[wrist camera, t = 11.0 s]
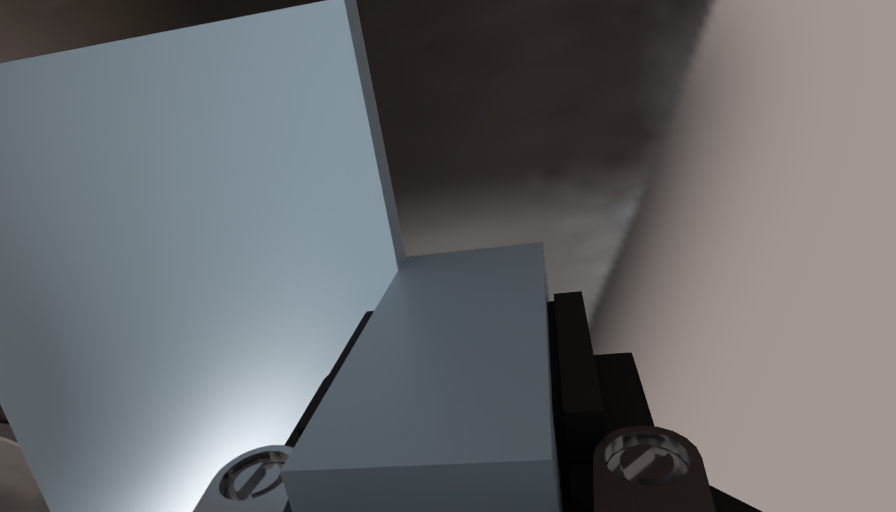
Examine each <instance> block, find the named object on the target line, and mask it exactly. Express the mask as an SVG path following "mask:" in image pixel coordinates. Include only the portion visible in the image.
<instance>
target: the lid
mask: <svg viewBox="0 0 896 512" xmlns="http://www.w3.org/2000/svg"><path fill="white" fill-rule="evenodd" d="M547 302H550V300H549V292H548V283H547V274H546V265H545V257H544V248H543V242H540V243H530V244H521V245H512V246H503V247H494V248H484V249H475V250H466V251H457V252H448V253H438V254H429V255H420V256H411V257H406V255H405V250H404V245H403V239H402V234H401V229H400V224H399V219H398V214H397V209H396V203H395V198H394V193H393V188H392V183H391V178H390V173H389V167H388V162H387V157H386V152H385V147H384V142H383V137H382V131H381V126H380V121H379V116H378V111H377V106H376V101H375V95H374V90H373V85H372V80H371V75H370V70H369V65H368V59H367V54H366V49H365V44H364V39H363V34H362V29H361V23H360V18H359V13H358V8H357V3H356V0H325V1H320V2H315V3H310V4H305V5H300V6H295V7H289V8H284V9H279V10H274V11H269V12H264V13H258V14H253V15H248V16H243V17H238V18H233V19H227V20H222V21H217V22H212V23H207V24H202V25H197V26H191V27H186V28H181V29H176V30H171V31H166V32H160V33H155V34H150V35H145V36H140V37H135V38H129V39H124V40H119V41H114V42H109V43H104V44H99V45H93V46H88V47H83V48H78V49H73V50H68V51H62V52H57V53H52V54H47V55H42V56H37V57H31V58H26V59H21V60H16V61H11V62H6V63H0V405H1V407H2V409H3V411H4V413H5V415H6V418H7V420H8V422H9V424H10V426H11V428H12V430H13V433H14V435H15V437H16V439H17V441H18V443H19V446H20V448H21V450H22V452H23V454H24V456H25V458H26V461H27V463H28V465H29V467H30V469H31V471H32V473H33V476H34V478H35V480H36V482H37V484H38V486H39V489H40V491H41V493H42V495H43V497H44V499H45V501H46V504H47V506H48V508H49V510H50V512H193V510H194V508H195V507H196V505H197V503H198V502H199V500H200V499H201V497H202V495H203V494H204V492H205V490H206V489H207V487H208V485H209V484H210V482H211V481H212V479H213V478H214V476H215V475H216V474H217V473H218V471H219V470H220V469H221V468H222V467H224V466H225V465H226V464H227V463H228V462H230V461H231V460H233V459H234V458H236V457H238V456H240V455H241V454H243V453H245V452H248V451H251V450H253V449H256V448H259V447H264V446H269V445H285V443H286V442H287V440H288V438H289V437H290V435H291V433H292V432H293V430H294V428H295V427H296V425H297V423H298V422H299V420H300V418H301V417H302V415H303V413H304V412H305V410H306V408H307V407H308V405H309V403H310V402H311V400H312V398H313V397H314V395H315V393H316V392H317V390H318V388H319V386H320V385H321V383H322V381H323V380H324V379H325V377H326V376H327V375H329V373H330V372H331V370H332V368H333V367H334V365H335V363H336V362H337V360H338V358H339V356H340V355H341V353H342V351H343V350H344V348H345V346H346V345H347V343H348V341H349V340H350V338H351V336H352V335H353V333H354V331H355V330H356V328H357V326H358V324H359V323H360V321H361V319H362V318H363V316H364V314H365V313H366V312H367V311H374V312H373V314H372V316H371V317H370V319H369V321H368V322H367V324H366V326H365V328H364V329H363V331H362V333H361V334H360V336H359V338H358V339H357V341H356V343H355V345H354V346H353V348H352V350H351V351H350V353H349V355H348V356H347V358H346V360H345V362H344V363H343V365H342V367H341V368H340V370H339V372H338V374H337V375H336V377H335V379H334V380H333V382H332V384H331V385H330V387H329V389H328V391H327V392H326V394H325V396H324V397H323V399H322V401H321V402H320V404H319V406H318V408H317V409H316V411H315V413H314V414H313V416H312V418H311V419H310V421H309V423H308V425H307V426H306V428H305V430H304V431H303V433H302V435H301V437H300V438H299V440H298V442H297V443H296V445H295V447H294V448H293V450H292V452H291V454H290V455H289V457H288V459H287V460H286V462H285V464H284V465H283V467H282V469H281V471H280V473H281V477H282V480H283V483H284V487H285V490H286V493H287V496H288V500H289V503H290V506H291V510H292V512H565V511H564V503H563V495H562V486H561V478H560V470H559V462H558V454H557V445H556V437H555V429H554V419H553V407H552V388H551V368H550V348H549V328H548V308H547Z"/></svg>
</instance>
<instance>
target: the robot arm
mask: <svg viewBox="0 0 896 512" xmlns="http://www.w3.org/2000/svg"><path fill="white" fill-rule="evenodd" d="M547 308H548V328H549V348H550V368H551V388H552V407H553V419H554V429H555V437H556V445H557V454H558V462H559V470H560V478H561V486H562V495H563V503H564V511H565V512H762V511H760V510H758V509H756V508H754V507H752V506H750V505H748V504H746V503H744V502H742V501H740V500H738V499H736V498H734V497H732V496H730V495H728V494H726V493H724V492H722V491H720V490H718V489H716V488H714V487H712V486H710V485H709V483H708V479H707V475H706V471H705V468H704V464H703V460H702V457H701V455H700V453H699V451H698V449H697V447H696V446H694V445H693V444H692V443H691V442H690V441H689V440H688V439H687V438H685V437H683V436H681V435H679V434H678V433H676V432H674V431H671V430H667V429H664V428H660V427H655V426H654V423H653V420H652V417H651V413H650V410H649V407H648V404H647V400H646V397H645V394H644V391H643V387H642V384H641V381H640V378H639V374H638V371H637V368H636V365H635V362H634V358H633V356H632V353H616V354H604V355H593V350H592V344H591V339H590V333H589V328H588V323H587V317H586V312H585V307H584V301H583V296H582V291H580V292H569V293H558V294H554V301H550V302H547ZM373 312H374V311H367V312H366V313H365V314H364V316H363V318H362V319H361V321H360V323H359V324H358V326H357V328H356V330H355V331H354V333H353V335H352V336H351V338H350V340H349V341H348V343H347V345H346V346H345V348H344V350H343V351H342V353H341V355H340V356H339V358H338V360H337V362H336V363H335V365H334V367H333V368H332V370H331V372H330V373H329V375H327V376H326V377H325V379H324V380H323V381H322V383H321V385H320V386H319V388H318V390H317V392H316V393H315V395H314V397H313V398H312V400H311V402H310V403H309V405H308V407H307V408H306V410H305V412H304V413H303V415H302V417H301V418H300V420H299V422H298V423H297V425H296V427H295V428H294V430H293V432H292V433H291V435H290V437H289V438H288V440H287V442H286V443H285V445H269V446H264V447H259V448H256V449H253V450H251V451H248V452H245V453H243V454H241V455H240V456H238V457H236V458H234V459H233V460H231V461H230V462H228V463H227V464H226V465H225V466H224V467H222V468H221V469H220V470H219V471H218V473H217V474H216V475H215V476H214V478H213V479H212V481H211V482H210V484H209V485H208V487H207V489H206V490H205V492H204V494H203V495H202V497H201V499H200V500H199V502H198V503H197V505H196V507H195V508H194V510H193V512H292V510H291V506H290V503H289V500H288V496H287V493H286V490H285V487H284V483H283V480H282V477H281V473H280V471H281V469H282V467H283V465H284V464H285V462H286V460H287V459H288V457H289V455H290V454H291V452H292V450H293V448H294V447H295V445H296V443H297V442H298V440H299V438H300V437H301V435H302V433H303V431H304V430H305V428H306V426H307V425H308V423H309V421H310V419H311V418H312V416H313V414H314V413H315V411H316V409H317V408H318V406H319V404H320V402H321V401H322V399H323V397H324V396H325V394H326V392H327V391H328V389H329V387H330V385H331V384H332V382H333V380H334V379H335V377H336V375H337V374H338V372H339V370H340V368H341V367H342V365H343V363H344V362H345V360H346V358H347V356H348V355H349V353H350V351H351V350H352V348H353V346H354V345H355V343H356V341H357V339H358V338H359V336H360V334H361V333H362V331H363V329H364V328H365V326H366V324H367V322H368V321H369V319H370V317H371V316H372V314H373ZM0 512H50V510H49V508H48V506H47V504H46V501H45V499H44V497H43V495H42V493H41V491H40V489H39V486H38V484H37V482H36V480H35V478H34V476H33V473H32V471H31V469H30V467H29V465H28V463H27V461H26V458H25V456H24V454H23V452H22V450H21V448H20V446H19V443H18V441H17V439H16V437H15V435H14V433H13V430H12V428H11V426H10V425H9V424H4V423H0Z"/></svg>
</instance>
